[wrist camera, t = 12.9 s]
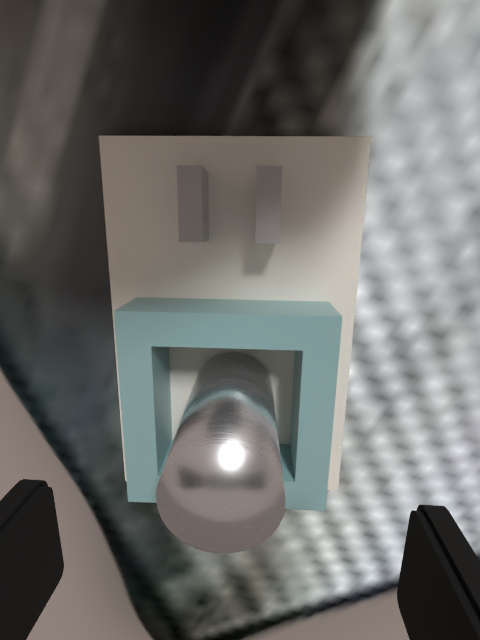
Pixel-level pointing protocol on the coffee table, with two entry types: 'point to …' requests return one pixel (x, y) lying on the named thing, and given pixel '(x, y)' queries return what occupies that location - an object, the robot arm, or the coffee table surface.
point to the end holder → (235, 286)
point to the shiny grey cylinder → (225, 460)
